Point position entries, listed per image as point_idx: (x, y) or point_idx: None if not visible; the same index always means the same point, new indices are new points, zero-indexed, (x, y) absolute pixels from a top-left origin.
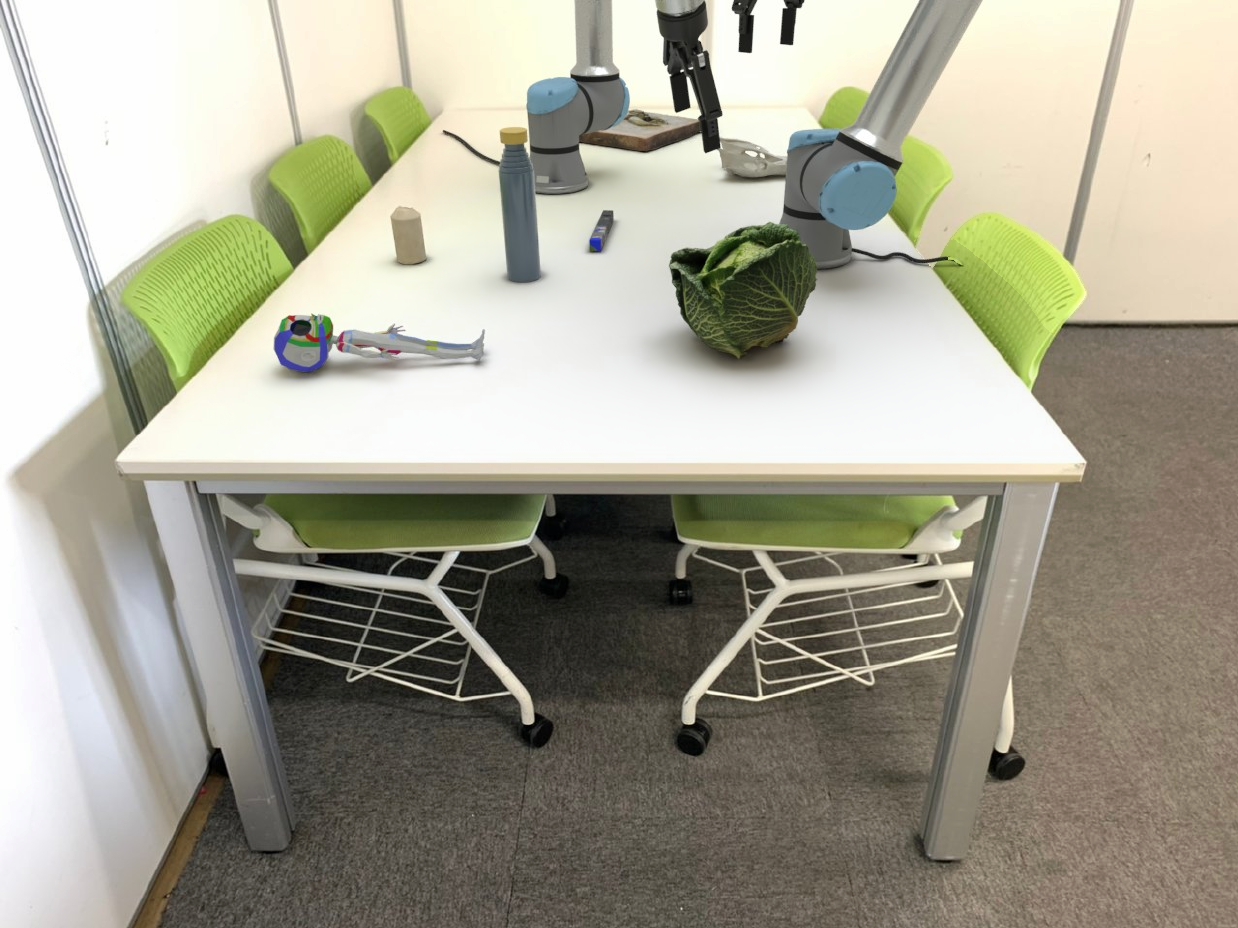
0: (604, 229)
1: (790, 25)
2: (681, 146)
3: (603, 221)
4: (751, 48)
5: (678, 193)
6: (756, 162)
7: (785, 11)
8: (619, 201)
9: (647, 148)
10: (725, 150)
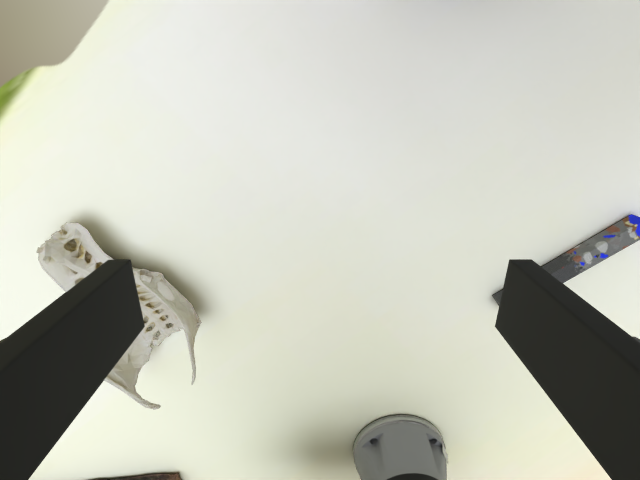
0: (593, 251)
1: (63, 338)
2: (108, 462)
3: (557, 278)
4: (527, 271)
5: (310, 317)
6: (154, 287)
7: (3, 471)
8: (402, 350)
9: (174, 477)
10: (188, 340)
